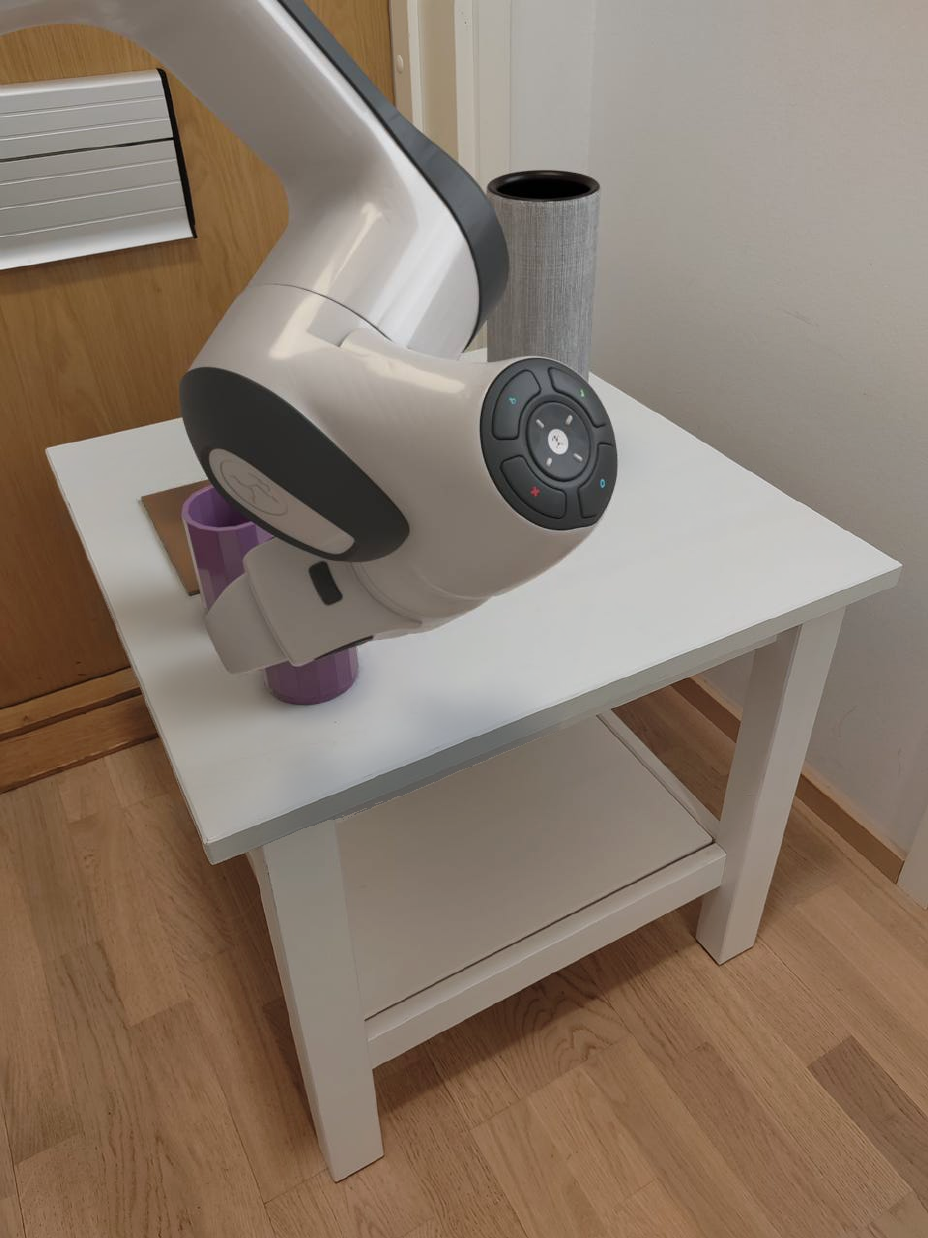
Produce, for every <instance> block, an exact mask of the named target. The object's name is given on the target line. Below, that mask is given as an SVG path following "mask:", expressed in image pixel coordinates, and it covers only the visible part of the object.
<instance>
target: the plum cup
mask: <svg viewBox="0 0 928 1238" xmlns="http://www.w3.org/2000/svg"><path fill="white" fill-rule="evenodd" d="M244 573H246V572H245V569H244V568H243V574H244ZM260 671H261V676H262V679H263V681H264V685H265V686H266V689H267V690H268V693H270V694H271V695H272V696H274V698H277V699H278V700H280V701H282V702H285V703H289V704H293V705H300V706H301V705H316V704H321V703H325V702H328V701H332V700H333V699H336V698H338V697H339V696H341V695H343V694H345V692H347V691H348V690H349V689H350V688H351V687H352V686H353V685H354V683H355V682H356V681H357V678H358V675H359V672H360V664H359V653H358V646H356V647H353V648H349V649H346V650H343V651H341V652H338V653H335V654H333V655H330V656H328V657H325V658H323V659H320V660H318V661H315V660H314V661H311V662H309V663H307V664H305V665H302V666H293V665H292V664H291V663H290V662H289V660H288V661H285V662H282V663H279V664H276V665H272V666H269V667H266V668H263V669H260Z"/></svg>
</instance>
